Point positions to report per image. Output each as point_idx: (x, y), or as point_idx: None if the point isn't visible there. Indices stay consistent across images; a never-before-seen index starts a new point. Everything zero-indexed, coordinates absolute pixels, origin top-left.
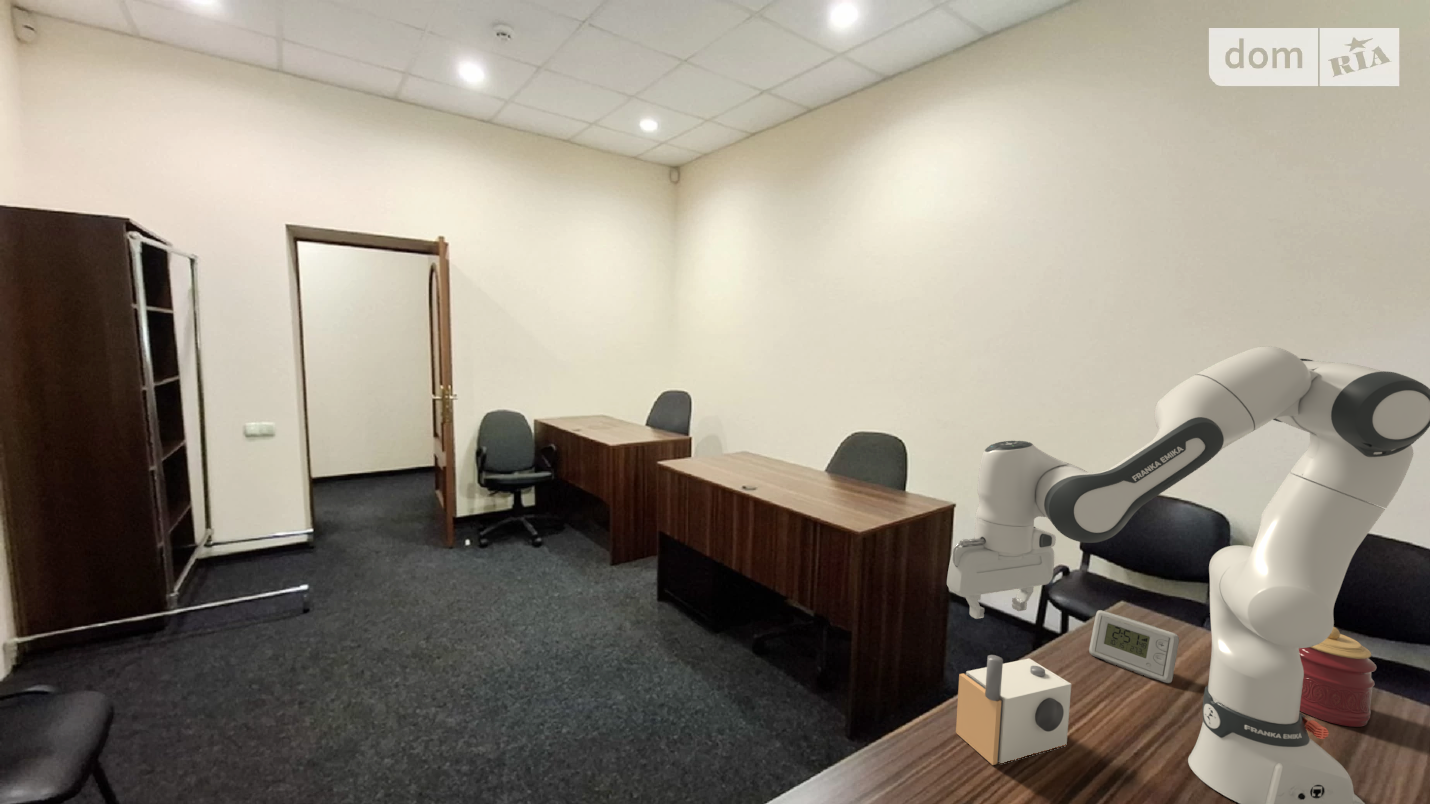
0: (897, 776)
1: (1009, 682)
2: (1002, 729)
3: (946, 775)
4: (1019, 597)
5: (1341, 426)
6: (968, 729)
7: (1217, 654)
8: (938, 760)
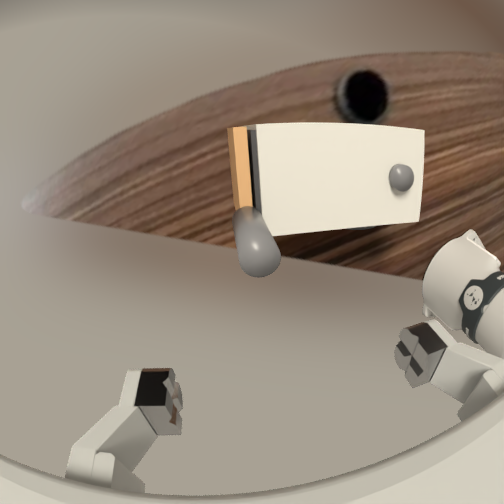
0: (94, 197)
1: (322, 187)
2: None
3: (157, 204)
4: (446, 363)
5: None
6: (230, 155)
7: None
8: (162, 176)
